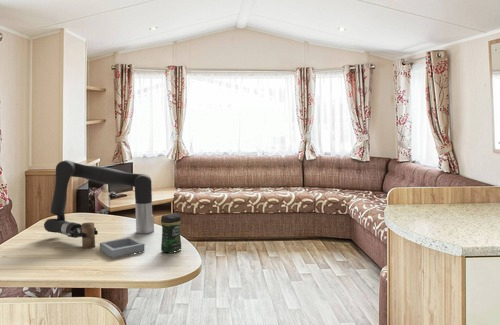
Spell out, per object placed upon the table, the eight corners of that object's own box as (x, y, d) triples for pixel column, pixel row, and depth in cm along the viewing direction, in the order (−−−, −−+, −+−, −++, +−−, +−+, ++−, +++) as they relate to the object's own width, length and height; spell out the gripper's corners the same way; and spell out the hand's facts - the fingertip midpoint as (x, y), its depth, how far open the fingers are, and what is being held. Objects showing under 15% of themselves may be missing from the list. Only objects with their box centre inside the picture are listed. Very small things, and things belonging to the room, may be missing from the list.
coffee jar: (169, 254, 202) (168, 216, 200) (158, 251, 206) (157, 214, 205) (184, 250, 209) (183, 213, 207) (173, 247, 214) (173, 211, 212)
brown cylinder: (92, 244, 219) (91, 221, 217) (96, 247, 214) (96, 224, 213) (80, 246, 215) (79, 223, 214) (84, 249, 210) (83, 225, 209)
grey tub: (130, 244, 218) (130, 237, 218) (144, 251, 206) (144, 243, 206) (100, 250, 208) (99, 242, 208) (112, 258, 196) (112, 250, 195)
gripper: (58, 225, 216) (78, 229, 206) (83, 219, 227) (103, 224, 218) (59, 239, 216) (78, 244, 207) (84, 233, 228) (103, 238, 219)
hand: (91, 234), depth 212 cm, fingers closed on brown cylinder, 6 cm apart
